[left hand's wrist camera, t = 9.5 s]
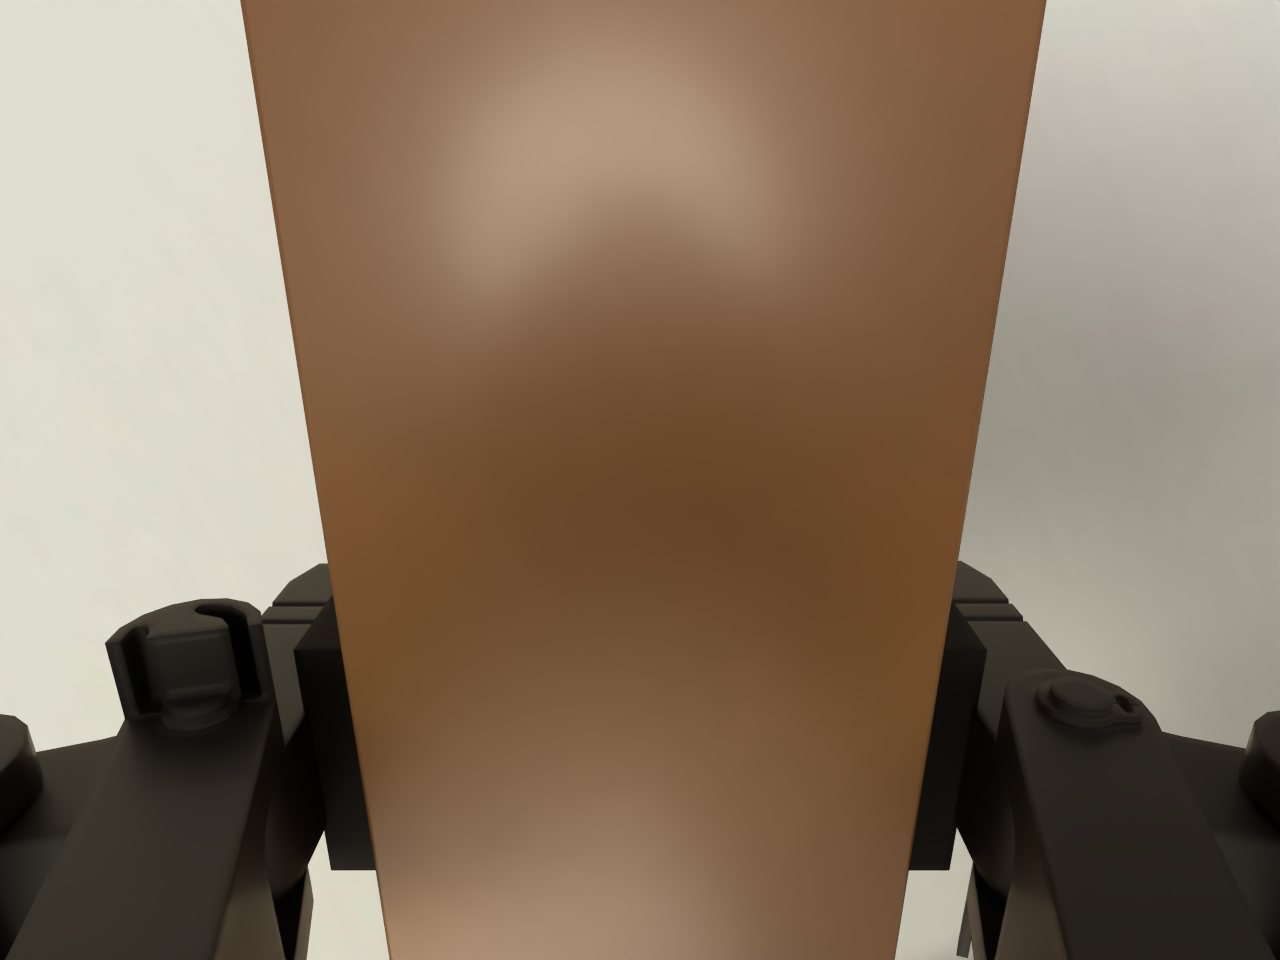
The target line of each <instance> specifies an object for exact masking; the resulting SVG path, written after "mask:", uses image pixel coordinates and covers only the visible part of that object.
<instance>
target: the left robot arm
mask: <svg viewBox="0 0 1280 960" xmlns="http://www.w3.org/2000/svg"><path fill="white" fill-rule="evenodd" d="M105 645H106V649H107V653H108V656H109V660H110V664H111V668H112V671H113V675H114V679H115V683H116V686H117V690H118V694H119V698H120V701H121V705H122V709H123V713H124V717H125V720H124V722H123V724H122V726H121V728H120V730H119V732H118V734H117V736H114V737H110V738H106V739H102V740H97V741H92V742H87V743H81V744H76V745H71V746H66V747H61V748H56V749H50V750H45V751H40V752H36V751H35V748H34V745H33V742H32V739H31V735H30V732H29V729H28V726H27V725H26V724H25V723H23V722H22V721H21V720H19V719H18V718H16V717H15V716H10V715H2V714H0V960H306V959H307V950H308V942H309V934H310V926H311V918H312V910H313V894H312V887H311V881H310V876H309V870H308V863H309V861H310V859H311V857H312V855H313V853H314V851H315V848H316V846H317V844H318V842H319V840H320V838H321V836H322V834H323V831H325V837H326V843H327V849H328V854H329V860H330V866H331V870H376V868H375V862H374V855H373V849H372V842H371V836H370V829H369V823H368V817H367V810H366V804H365V797H364V791H363V784H362V778H361V772H360V765H359V759H358V752H357V746H356V740H355V733H354V727H353V720H352V714H351V707H350V701H349V695H348V688H347V682H346V675H345V669H344V662H343V656H342V650H341V643H340V637H339V630H338V624H337V617H336V611H335V605H334V598H333V592H332V585H331V579H330V572H329V566H328V564H318V565H317V566H315V567H313V568H312V569H310V570H308V571H307V572H305V573H303V574H302V575H300V576H298V577H297V578H295V579H293V580H292V581H290V582H289V583H288V584H287V586H286V587H285V588H284V589H283V590H282V592H281V593H280V594H279V595H278V596H277V598H276V599H275V600H274V601H273V605H272V607H268V609H267V610H266V611H265V612H264V613H263V615H262V616H261V612H260V611H259V610H258V609H256V608H255V607H254V606H252V605H251V604H249V603H248V602H243V601H238V600H233V599H228V598H223V599H199V600H194V601H189V602H184V603H178V604H173V605H170V606H167V607H164V608H161V609H158V610H155V611H153V612H150V613H147V614H144V615H142V616H140V617H139V618H137V619H135V620H133V621H131V622H130V623H128V624H126V625H124V626H123V627H121V628H119V629H118V630H117V631H116V632H115V633H114V634H113V635H112V636H111V637H110V638H109V639H108V640H107V642H106V643H105ZM957 828H958V830H959V832H960V835H961V837H962V839H963V841H964V843H965V845H966V847H967V849H968V851H969V854H970V856H971V858H972V860H973V865H972V870H971V876H970V881H969V886H968V892H967V897H966V903H965V908H964V913H963V919H962V924H961V930H960V935H959V941H958V948H957V954H956V955H957V956H961V957H966V958H968V954H969V949H970V944H971V940H972V948H973V957H974V960H1280V711H1274V712H1267V713H1266V714H1264V715H1263V716H1262V717H1260V718H1259V719H1257V720H1256V721H1255V722H1254V725H1253V728H1252V732H1251V735H1250V738H1249V741H1248V744H1247V747H1246V749H1244V748H1239V747H1234V746H1229V745H1224V744H1219V743H1213V742H1208V741H1203V740H1198V739H1193V738H1187V737H1182V736H1178V735H1174V734H1170V733H1166V732H1162V731H1161V729H1160V727H1159V725H1158V723H1157V721H1156V719H1155V717H1154V716H1153V715H1152V714H1151V712H1150V711H1149V710H1148V709H1147V707H1146V706H1145V705H1144V704H1143V703H1142V701H1140V700H1139V699H1137V698H1136V697H1134V696H1133V695H1131V694H1130V693H1128V692H1127V691H1125V690H1124V689H1122V688H1121V687H1119V686H1117V685H1114V684H1112V683H1110V682H1107V681H1105V680H1102V679H1100V678H1098V677H1095V676H1093V675H1089V674H1084V673H1080V672H1075V671H1071V670H1067V669H1066V668H1065V667H1064V665H1063V664H1062V663H1061V662H1060V661H1059V660H1058V658H1057V657H1056V656H1055V655H1054V654H1053V652H1052V651H1051V650H1050V649H1049V648H1048V646H1047V645H1046V644H1045V643H1044V642H1043V640H1042V639H1041V638H1040V637H1039V636H1038V634H1037V633H1036V632H1035V631H1034V630H1033V628H1032V627H1031V626H1030V625H1029V624H1028V622H1027V621H1023V616H1022V615H1021V614H1020V613H1019V612H1018V610H1017V609H1016V608H1015V607H1014V606H1013V604H1009V602H1008V598H1007V597H1006V596H1005V595H1004V594H1003V592H1002V591H1001V590H1000V589H999V588H998V586H997V585H996V584H995V583H994V582H993V580H992V579H991V578H989V577H987V576H986V575H984V574H982V573H981V572H979V571H977V570H976V569H974V568H972V567H970V566H969V565H967V564H965V563H964V562H962V561H958V562H957V568H956V575H955V581H954V587H953V594H952V600H951V606H950V613H949V619H948V625H947V632H946V638H945V644H944V651H943V657H942V663H941V670H940V676H939V682H938V688H937V695H936V701H935V707H934V714H933V720H932V726H931V733H930V739H929V745H928V752H927V758H926V764H925V771H924V777H923V783H922V789H921V796H920V802H919V808H918V815H917V821H916V827H915V834H914V840H913V846H912V853H911V859H910V865H909V870H949V869H950V863H951V858H952V852H953V846H954V840H955V835H956V829H957Z"/></svg>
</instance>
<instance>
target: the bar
mask: <svg viewBox="0 0 1280 960" xmlns="http://www.w3.org/2000/svg"><path fill="white" fill-rule="evenodd" d="M240 1H241V7H242V14H243V20H244V26H245V33H246V39H247V46H248V52H249V59H250V65H251V71H252V78H253V84H254V91H255V97H256V103H257V110H258V116H259V123H260V129H261V136H262V142H263V148H264V155H265V161H266V168H267V174H268V181H269V187H270V193H271V200H272V206H273V213H274V219H275V226H276V232H277V238H278V245H279V251H280V258H281V264H282V271H283V277H284V283H285V290H286V296H287V303H288V309H289V315H290V322H291V328H292V335H293V341H294V348H295V354H296V360H297V367H298V373H299V380H300V386H301V393H302V399H303V405H304V412H305V418H306V425H307V431H308V438H309V444H310V450H311V457H312V463H313V470H314V476H315V483H316V489H317V495H318V502H319V508H320V515H321V521H322V527H323V534H324V540H325V547H326V553H327V560H328V566H329V572H330V579H331V585H332V592H333V598H334V605H335V611H336V617H337V624H338V630H339V637H340V643H341V650H342V656H343V662H344V669H345V675H346V682H347V688H348V695H349V701H350V707H351V714H352V720H353V727H354V733H355V740H356V746H357V752H358V759H359V765H360V772H361V778H362V784H363V791H364V797H365V804H366V810H367V817H368V823H369V829H370V836H371V842H372V849H373V855H374V862H375V868H376V874H377V881H378V887H379V894H380V900H381V907H382V913H383V919H384V926H385V932H386V939H387V945H388V952H389V958H390V960H895V954H896V947H897V941H898V935H899V928H900V922H901V916H902V909H903V903H904V897H905V891H906V884H907V878H908V872H909V865H910V859H911V853H912V846H913V840H914V834H915V827H916V821H917V815H918V808H919V802H920V796H921V789H922V783H923V777H924V771H925V764H926V758H927V752H928V745H929V739H930V733H931V726H932V720H933V714H934V707H935V701H936V695H937V688H938V682H939V676H940V670H941V663H942V657H943V651H944V644H945V638H946V632H947V625H948V619H949V613H950V606H951V600H952V594H953V587H954V581H955V575H956V568H957V562H958V556H959V550H960V543H961V537H962V531H963V524H964V518H965V512H966V505H967V499H968V493H969V486H970V480H971V474H972V467H973V461H974V455H975V449H976V442H977V436H978V430H979V423H980V417H981V411H982V404H983V398H984V392H985V385H986V379H987V373H988V366H989V360H990V354H991V347H992V341H993V335H994V329H995V322H996V316H997V310H998V303H999V297H1000V291H1001V284H1002V278H1003V272H1004V265H1005V259H1006V253H1007V246H1008V240H1009V234H1010V227H1011V221H1012V215H1013V209H1014V202H1015V196H1016V190H1017V183H1018V177H1019V171H1020V164H1021V158H1022V152H1023V145H1024V139H1025V133H1026V126H1027V120H1028V114H1029V108H1030V101H1031V95H1032V89H1033V82H1034V76H1035V70H1036V63H1037V57H1038V51H1039V44H1040V38H1041V32H1042V25H1043V19H1044V13H1045V6H1046V0H240Z"/></svg>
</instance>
